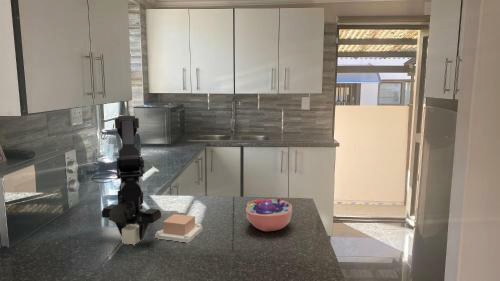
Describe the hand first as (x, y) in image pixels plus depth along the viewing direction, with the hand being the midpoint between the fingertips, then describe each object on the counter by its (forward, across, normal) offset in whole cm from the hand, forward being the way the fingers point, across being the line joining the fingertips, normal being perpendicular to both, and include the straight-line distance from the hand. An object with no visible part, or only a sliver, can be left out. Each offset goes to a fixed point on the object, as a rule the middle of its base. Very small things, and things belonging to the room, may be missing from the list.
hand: (132, 238), depth 121 cm
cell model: (+1, +40, +25) cm, 47 cm away
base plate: (+1, +12, +10) cm, 16 cm away
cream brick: (+1, 0, 0) cm, 1 cm away
